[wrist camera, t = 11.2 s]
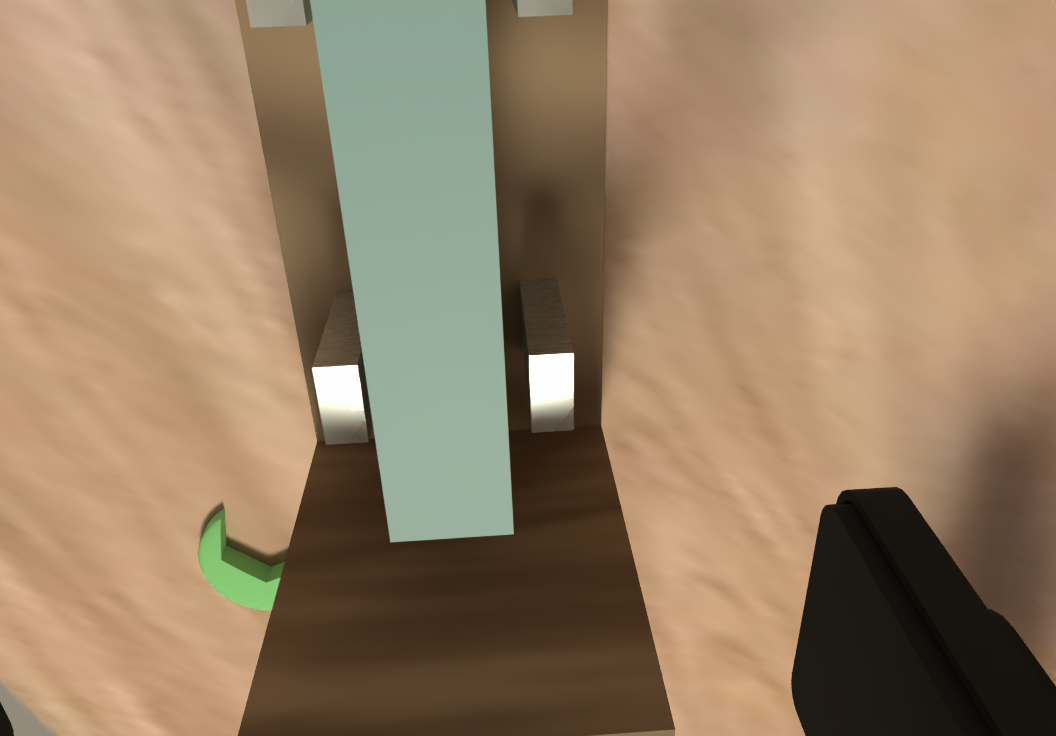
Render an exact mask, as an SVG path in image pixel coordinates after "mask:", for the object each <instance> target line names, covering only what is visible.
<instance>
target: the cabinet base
mask: <svg viewBox="0 0 1056 736" xmlns="http://www.w3.org/2000/svg"><path fill="white" fill-rule="evenodd" d="M235 2H236V7H237V12H238V18H239V23H240V29H241V34H242V39H243V45H244V50H245V55H246V61H247V66H248V72H249V77H250V82H251V88H252V93H253V98H254V104H255V109H256V115H257V120H258V125H259V131H260V136H261V141H262V147H263V152H264V158H265V163H266V168H267V174H268V179H269V184H270V190H271V195H272V201H273V206H274V211H275V217H276V222H277V227H278V233H279V238H280V244H281V249H282V254H283V260H284V265H285V271H286V276H287V281H288V287H289V292H290V297H291V303H292V308H293V314H294V319H295V324H296V330H297V335H298V340H299V346H300V351H301V357H302V362H303V367H304V373H305V378H306V383H307V389H308V394H309V400H310V405H311V410H312V416H313V421H314V426H315V432H316V437H317V445H316V448H315V452H314V456H313V459H312V463H311V467H310V471H309V474H308V478H307V482H306V485H305V489H304V493H303V496H302V500H301V504H300V507H299V511H298V515H297V519H296V522H295V526H294V530H293V533H292V537H291V541H290V544H289V548H288V552H287V556H286V559H285V563H284V567H283V570H282V574H281V578H280V581H279V585H278V589H277V593H276V596H275V600H274V604H273V607H272V611H271V615H270V618H269V622H268V626H267V629H266V633H265V637H264V641H263V644H262V648H261V652H260V655H259V659H258V663H257V666H256V670H255V674H254V678H253V681H252V685H251V689H250V692H249V696H248V700H247V703H246V707H245V711H244V715H243V718H242V722H241V726H240V729H239V733H238V736H675V727H674V723H673V719H672V715H671V710H670V706H669V702H668V698H667V694H666V690H665V686H664V682H663V678H662V673H661V669H660V665H659V661H658V657H657V653H656V649H655V645H654V641H653V636H652V632H651V628H650V624H649V620H648V616H647V612H646V608H645V604H644V599H643V595H642V591H641V587H640V583H639V579H638V575H637V571H636V567H635V562H634V558H633V554H632V550H631V546H630V542H629V538H628V534H627V530H626V525H625V521H624V517H623V513H622V509H621V505H620V501H619V497H618V493H617V488H616V484H615V480H614V476H613V472H612V468H611V464H610V460H609V456H608V451H607V447H606V443H605V439H604V435H603V431H602V427H601V398H602V335H603V272H604V209H605V147H606V84H607V21H608V0H485V2H486V20H487V39H488V58H489V77H490V96H491V114H492V133H493V152H494V171H495V190H496V208H497V227H498V246H499V265H500V284H501V302H502V321H503V340H504V359H505V378H506V396H507V415H508V434H509V453H510V471H511V490H512V509H513V528H514V534H510V535H495V536H480V537H464V538H449V539H434V540H418V541H403V542H390V536H389V529H388V523H387V516H386V509H385V502H384V496H383V489H382V482H381V475H380V469H379V462H378V455H377V448H376V442H375V435H374V428H373V421H372V415H371V408H370V401H369V394H368V388H367V381H366V374H365V367H364V361H363V354H362V347H361V341H360V334H359V327H358V320H357V314H356V307H355V300H354V293H353V287H352V280H351V273H350V266H349V260H348V253H347V246H346V239H345V233H344V226H343V219H342V212H341V206H340V199H339V192H338V185H337V179H336V172H335V165H334V158H333V152H332V145H331V138H330V131H329V125H328V118H327V111H326V104H325V98H324V91H323V84H322V77H321V71H320V64H319V57H318V50H317V44H316V37H315V30H314V24H313V17H312V10H311V3H310V0H235Z"/></svg>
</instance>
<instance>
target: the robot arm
mask: <svg viewBox="0 0 1056 736" xmlns="http://www.w3.org/2000/svg"><path fill="white" fill-rule="evenodd" d="M791 685H792V695H793V701H794V705H795V709H796V712H797V715H798V717H799V720H800V722H801V725H802V728H803V730H804V733H805V735H806V736H1056V686H1055V685H1054V683H1053V682H1052V680H1051V679H1050V678H1049V676H1048V675H1047V673H1046V672H1045V671H1044V669H1043V668H1042V667H1041V665H1040V664H1039V662H1038V661H1037V660H1036V658H1035V657H1034V655H1033V654H1032V653H1031V651H1030V650H1029V648H1028V647H1027V646H1026V644H1025V643H1024V642H1023V640H1022V639H1021V637H1020V636H1019V635H1018V633H1017V632H1016V630H1015V629H1014V628H1013V627H1012V626H1011V625H1010V623H1009V622H1008V621H1007V620H1006V619H1005V618H1004V617H1003V616H1002V615H1000V614H998V613H997V612H995V611H993V610H991V609H987V607H986V606H985V605H984V603H983V602H982V600H981V599H980V597H979V596H978V595H977V593H976V592H975V590H974V589H973V587H972V586H971V585H970V583H969V582H968V580H967V579H966V577H965V576H964V575H963V573H962V572H961V570H960V569H959V568H958V566H957V565H956V563H955V562H954V560H953V559H952V558H951V556H950V555H949V553H948V552H947V550H946V549H945V548H944V546H943V545H942V543H941V542H940V541H939V539H938V538H937V536H936V535H935V533H934V532H933V531H932V529H931V528H930V526H929V525H928V523H927V522H926V521H925V519H924V518H923V516H922V515H921V513H920V512H919V511H918V509H917V508H916V506H915V505H914V504H913V502H912V501H911V499H910V498H909V496H908V495H907V494H906V493H905V492H904V491H903V490H902V489H900V488H897V487H890V488H872V489H854V490H845V491H842V492H841V494H840V495H839V497H838V500H837V503H836V504H833V505H826V506H825V507H824V508H823V510H822V513H821V517H820V522H819V528H818V533H817V539H816V544H815V550H814V555H813V561H812V566H811V572H810V577H809V583H808V588H807V594H806V599H805V605H804V610H803V616H802V621H801V627H800V633H799V638H798V644H797V649H796V655H795V660H794V666H793V671H792V679H791ZM0 736H14V734H13V728H12V725H11V722H10V720H9V718H8V716H7V714H6V712H5V710H4V708H3V707H2V705H1V702H0Z"/></svg>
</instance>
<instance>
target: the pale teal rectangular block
mask: <svg viewBox="0 0 1056 736" xmlns="http://www.w3.org/2000/svg"><path fill="white" fill-rule="evenodd" d="M310 3H311V10H312V17H313V24H314V30H315V37H316V44H317V50H318V57H319V64H320V71H321V77H322V84H323V91H324V98H325V104H326V111H327V118H328V125H329V131H330V138H331V145H332V152H333V158H334V165H335V172H336V179H337V185H338V192H339V199H340V206H341V212H342V219H343V226H344V233H345V239H346V246H347V253H348V260H349V266H350V273H351V280H352V287H353V293H354V300H355V307H356V314H357V320H358V327H359V334H360V341H361V347H362V354H363V361H364V367H365V374H366V381H367V388H368V394H369V401H370V408H371V415H372V421H373V428H374V435H375V442H376V448H377V455H378V462H379V469H380V475H381V482H382V489H383V496H384V502H385V509H386V516H387V523H388V529H389V536H390V542H403V541H418V540H434V539H449V538H464V537H480V536H495V535H510V534H514V528H513V509H512V490H511V471H510V453H509V434H508V415H507V396H506V378H505V359H504V340H503V321H502V302H501V284H500V265H499V246H498V227H497V208H496V190H495V171H494V152H493V133H492V114H491V96H490V77H489V58H488V39H487V20H486V2H485V0H310Z"/></svg>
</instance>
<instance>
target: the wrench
mask: <svg viewBox="0 0 1056 736" xmlns="http://www.w3.org/2000/svg"><path fill="white" fill-rule="evenodd" d="M198 556H199V564H200V566H201V569H202V572H203V574H204V575H205V577H206V578H207V580H208V581H209V583H210V584H211V585H212V586H213V587H214V588H215V589H216V590H217V591H218V592H219V593H221V594H222V595H223V596H225V597H226V598H228V599H230V600H232V601H234V602H236V603H238V604H240V605H243V606H246V607H250V608H254V609H260V610H272V607H273V604H274V600H275V596H276V593H277V589H278V585H279V581H280V578H281V574H282V570H283V567H284V563H285V561H284V562H282V563H279V564H276V565H274V566H269V565H267V564H265V563H263V562H261V561H259V560H256V559H254V558H252V557H250V556H248V555H246V554H244V553H242V552H239V551H237V550H235V549H233V548H231V547H229V546H227V542H226V525H225V508H223V509H222V510H221V511H220V512H218V513H217V514H216V515H214V517H213V518H212V519H211V520H210V522H209V523H208V524H207V527H206V529H205V531H204V534H203V536H202V538H201V541H200V544H199V551H198Z"/></svg>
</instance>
